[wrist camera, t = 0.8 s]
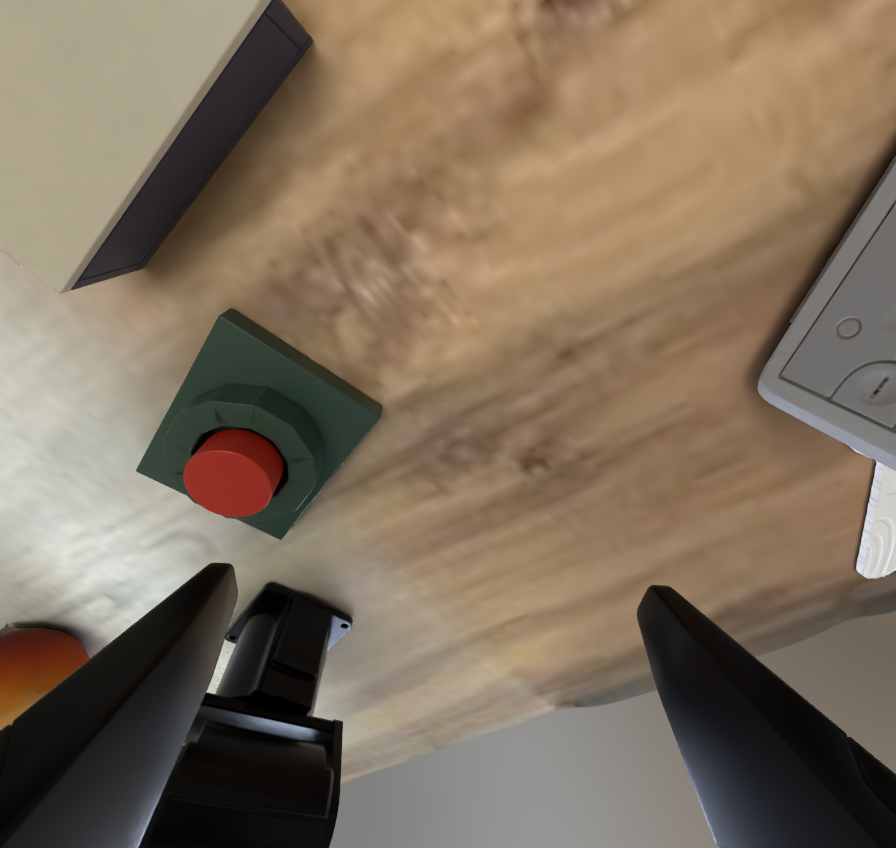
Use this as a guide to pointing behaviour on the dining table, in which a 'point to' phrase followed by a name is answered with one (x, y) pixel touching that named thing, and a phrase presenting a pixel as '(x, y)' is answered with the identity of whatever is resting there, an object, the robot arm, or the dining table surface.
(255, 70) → the dark rimmed tray
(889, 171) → the digital clock
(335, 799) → the robot arm
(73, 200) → the beige panel
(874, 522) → the spoon
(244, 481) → the alarm button
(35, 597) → the dining table surface
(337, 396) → the alarm box
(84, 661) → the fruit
